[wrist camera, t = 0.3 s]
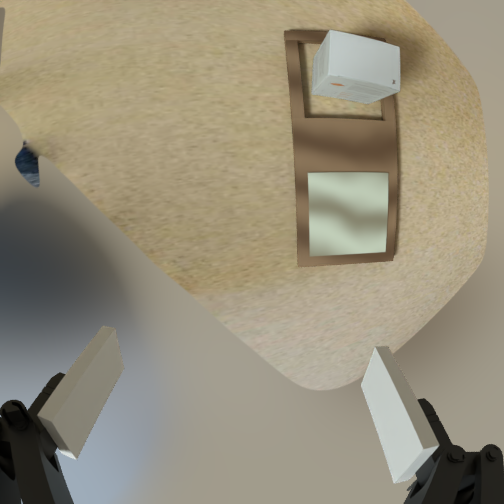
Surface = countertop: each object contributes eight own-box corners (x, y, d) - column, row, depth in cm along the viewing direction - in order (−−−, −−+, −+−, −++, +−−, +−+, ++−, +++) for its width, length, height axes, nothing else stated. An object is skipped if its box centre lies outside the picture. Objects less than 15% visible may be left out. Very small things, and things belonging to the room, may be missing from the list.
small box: (369, 68, 32) (402, 46, 22) (368, 105, 33) (402, 92, 24) (312, 57, 32) (329, 27, 22) (309, 94, 33) (327, 75, 24)
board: (283, 33, 31) (284, 30, 29) (382, 41, 30) (385, 38, 29) (297, 263, 41) (298, 267, 40) (390, 258, 40) (393, 261, 39)
